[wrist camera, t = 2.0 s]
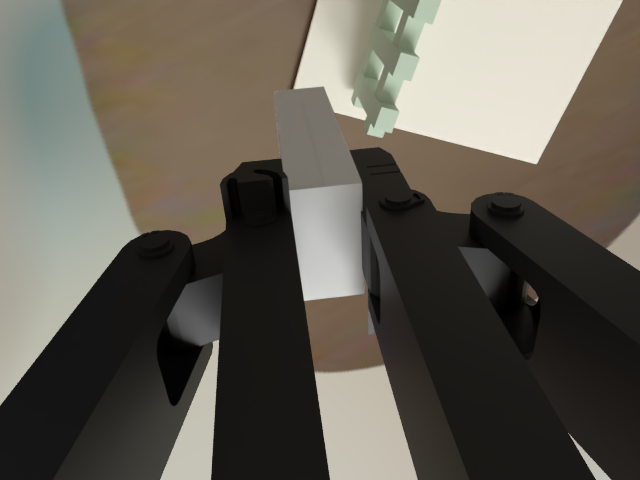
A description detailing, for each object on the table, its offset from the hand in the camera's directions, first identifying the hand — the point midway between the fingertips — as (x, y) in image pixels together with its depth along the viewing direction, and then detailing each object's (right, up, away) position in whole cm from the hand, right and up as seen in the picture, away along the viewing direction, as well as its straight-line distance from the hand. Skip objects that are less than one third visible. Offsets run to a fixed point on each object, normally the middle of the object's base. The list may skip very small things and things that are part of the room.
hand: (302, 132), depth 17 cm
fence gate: (+4, +10, +16) cm, 19 cm away
